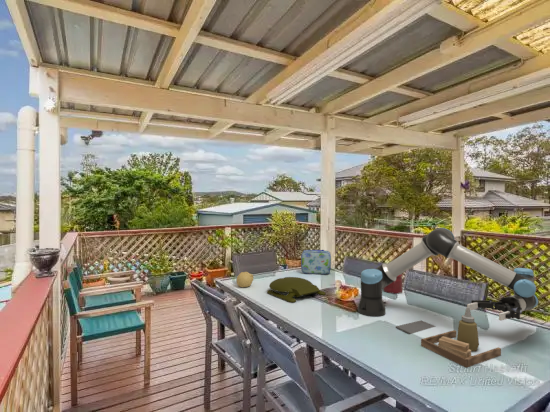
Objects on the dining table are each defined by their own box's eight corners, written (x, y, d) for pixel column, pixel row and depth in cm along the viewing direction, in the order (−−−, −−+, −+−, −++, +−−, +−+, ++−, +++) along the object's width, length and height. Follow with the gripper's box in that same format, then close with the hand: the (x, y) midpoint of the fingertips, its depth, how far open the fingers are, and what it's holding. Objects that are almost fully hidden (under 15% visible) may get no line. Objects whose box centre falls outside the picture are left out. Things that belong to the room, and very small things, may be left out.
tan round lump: (255, 285, 240) (255, 271, 239) (245, 289, 229) (245, 274, 229) (243, 283, 246) (243, 269, 246) (233, 287, 236) (233, 272, 235)
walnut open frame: (454, 338, 146) (454, 330, 146) (500, 358, 128) (501, 348, 128) (421, 348, 137) (421, 339, 137) (466, 370, 119) (466, 360, 119)
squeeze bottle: (452, 346, 138) (452, 305, 138) (470, 345, 139) (470, 304, 139) (465, 355, 130) (465, 311, 130) (483, 354, 131) (484, 311, 131)
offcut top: (442, 340, 137) (442, 336, 136) (469, 348, 129) (469, 343, 129) (438, 344, 134) (438, 339, 134) (465, 352, 126) (465, 347, 126)
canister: (402, 289, 227) (402, 264, 226) (403, 294, 214) (403, 268, 214) (383, 287, 231) (382, 263, 231) (382, 292, 219) (382, 267, 218)
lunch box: (331, 272, 281) (331, 248, 281) (331, 275, 271) (331, 250, 270) (301, 271, 286) (301, 248, 285) (300, 274, 275) (300, 250, 275)
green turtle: (327, 295, 215) (327, 281, 215) (291, 304, 197) (291, 288, 197) (294, 284, 243) (294, 271, 243) (260, 291, 225) (260, 277, 225)
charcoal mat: (421, 321, 166) (421, 320, 166) (453, 334, 150) (453, 333, 150) (395, 327, 159) (395, 326, 159) (426, 342, 142) (426, 340, 142)
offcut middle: (443, 345, 137) (443, 340, 137) (471, 355, 128) (471, 350, 128) (438, 348, 134) (438, 343, 134) (466, 358, 125) (466, 353, 125)
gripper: (543, 321, 136) (515, 331, 127) (484, 305, 159) (456, 312, 150) (543, 304, 136) (514, 312, 127) (484, 290, 159) (456, 296, 150)
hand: (483, 312), depth 138 cm, fingers open, 13 cm apart
